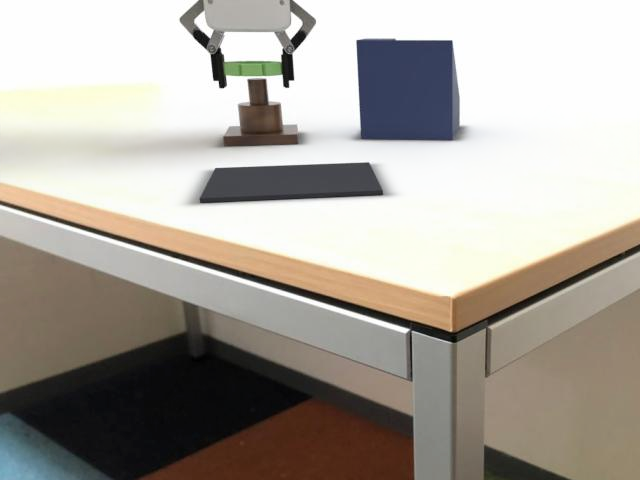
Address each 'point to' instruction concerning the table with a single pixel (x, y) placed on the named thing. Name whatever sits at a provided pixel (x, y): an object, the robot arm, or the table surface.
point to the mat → (291, 182)
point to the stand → (260, 120)
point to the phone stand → (407, 89)
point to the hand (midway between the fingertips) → (255, 86)
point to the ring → (252, 68)
